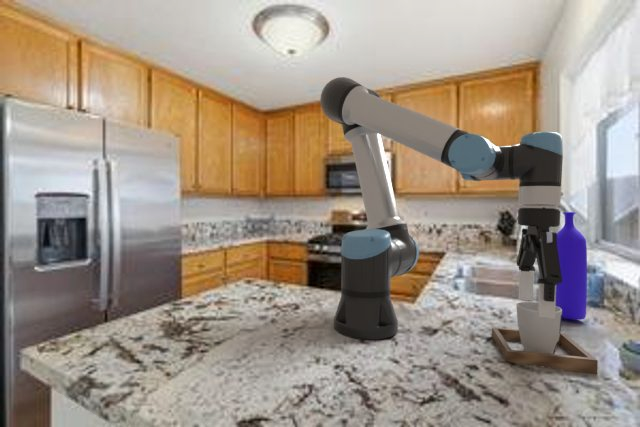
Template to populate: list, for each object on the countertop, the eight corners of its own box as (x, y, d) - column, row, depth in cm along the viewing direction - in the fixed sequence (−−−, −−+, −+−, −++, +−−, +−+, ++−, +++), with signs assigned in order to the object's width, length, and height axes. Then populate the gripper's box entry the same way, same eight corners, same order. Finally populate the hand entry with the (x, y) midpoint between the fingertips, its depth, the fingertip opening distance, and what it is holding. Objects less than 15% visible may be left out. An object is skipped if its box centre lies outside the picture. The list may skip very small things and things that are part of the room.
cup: (569, 364, 69) (569, 313, 69) (524, 360, 70) (524, 311, 70) (551, 348, 77) (551, 302, 76) (510, 345, 78) (511, 300, 78)
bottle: (555, 318, 99) (555, 211, 99) (548, 310, 106) (549, 211, 106) (591, 321, 96) (591, 211, 95) (581, 313, 103) (582, 211, 103)
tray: (507, 364, 69) (507, 351, 69) (491, 337, 83) (491, 327, 83) (597, 373, 65) (597, 360, 65) (564, 344, 79) (564, 333, 79)
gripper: (587, 207, 61) (582, 329, 61) (539, 207, 85) (535, 295, 85) (538, 206, 63) (533, 324, 63) (504, 207, 87) (501, 292, 87)
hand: (534, 307), depth 74 cm, fingers open, 13 cm apart
